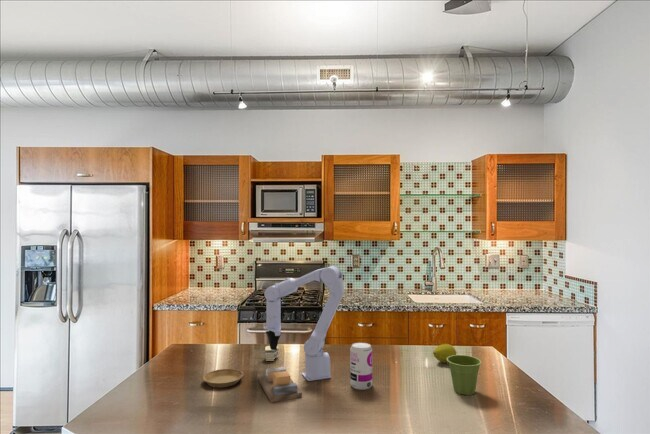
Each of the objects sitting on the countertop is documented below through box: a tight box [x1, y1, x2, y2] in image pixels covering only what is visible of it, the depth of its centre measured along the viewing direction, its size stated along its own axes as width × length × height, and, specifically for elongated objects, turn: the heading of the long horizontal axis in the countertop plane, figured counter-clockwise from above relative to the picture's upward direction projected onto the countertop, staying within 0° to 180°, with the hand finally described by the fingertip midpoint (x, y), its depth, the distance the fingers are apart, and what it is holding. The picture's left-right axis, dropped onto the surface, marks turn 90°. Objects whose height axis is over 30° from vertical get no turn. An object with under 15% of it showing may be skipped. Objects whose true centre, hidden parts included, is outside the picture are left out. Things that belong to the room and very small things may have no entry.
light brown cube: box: [273, 370, 291, 386], centre depth 144 cm, size 5×5×5 cm
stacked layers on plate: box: [264, 345, 280, 362], centre depth 179 cm, size 10×9×6 cm
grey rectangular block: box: [265, 366, 287, 382], centre depth 152 cm, size 7×3×4 cm, turn 112°
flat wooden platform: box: [257, 375, 303, 403], centre depth 147 cm, size 11×20×4 cm, turn 22°
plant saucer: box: [203, 368, 244, 388], centre depth 154 cm, size 15×15×3 cm
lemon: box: [432, 343, 457, 364], centre depth 175 cm, size 11×8×8 cm
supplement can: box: [349, 342, 373, 391], centre depth 150 cm, size 8×8×15 cm
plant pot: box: [447, 354, 482, 396], centre depth 145 cm, size 12×12×11 cm
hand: (273, 349), depth 163 cm, fingers closed
